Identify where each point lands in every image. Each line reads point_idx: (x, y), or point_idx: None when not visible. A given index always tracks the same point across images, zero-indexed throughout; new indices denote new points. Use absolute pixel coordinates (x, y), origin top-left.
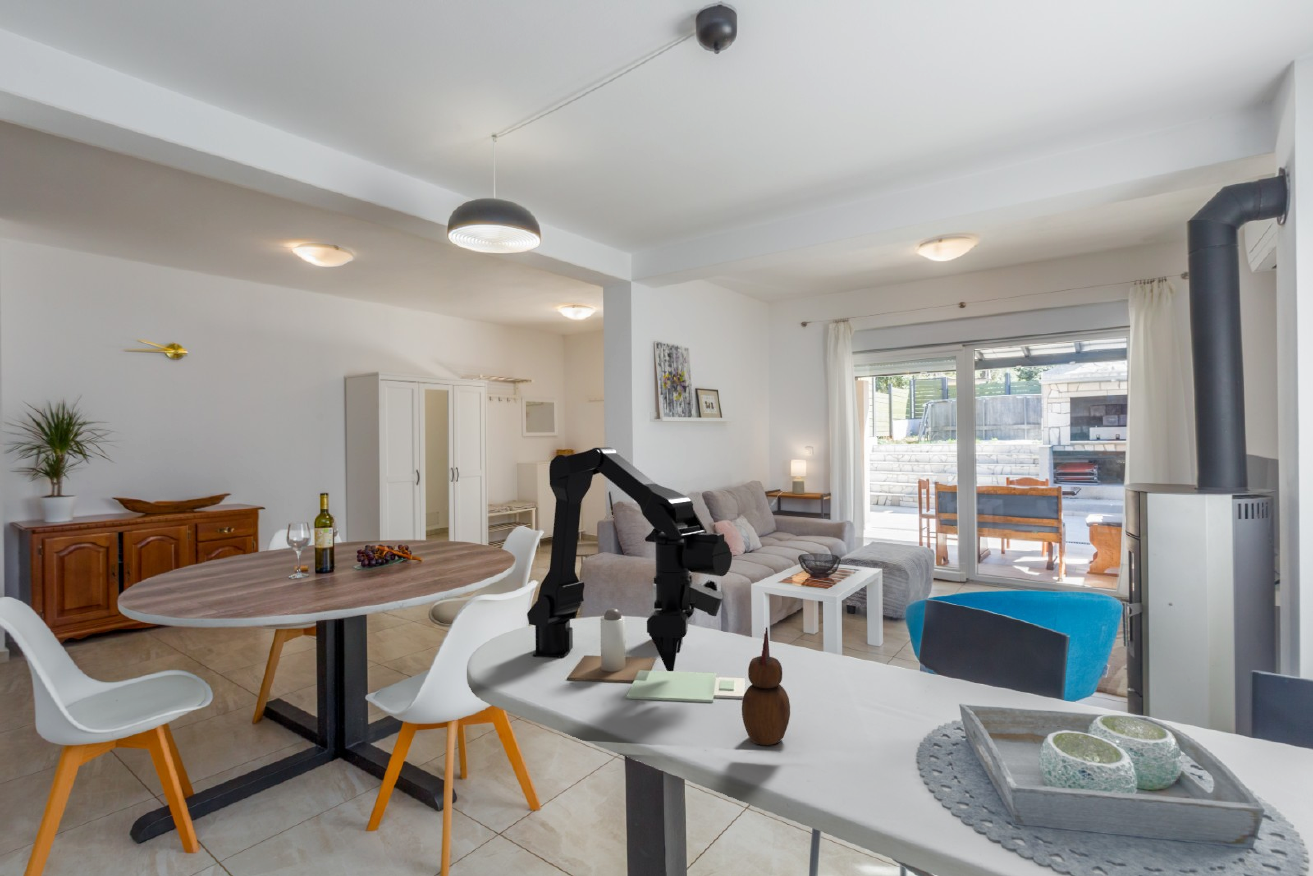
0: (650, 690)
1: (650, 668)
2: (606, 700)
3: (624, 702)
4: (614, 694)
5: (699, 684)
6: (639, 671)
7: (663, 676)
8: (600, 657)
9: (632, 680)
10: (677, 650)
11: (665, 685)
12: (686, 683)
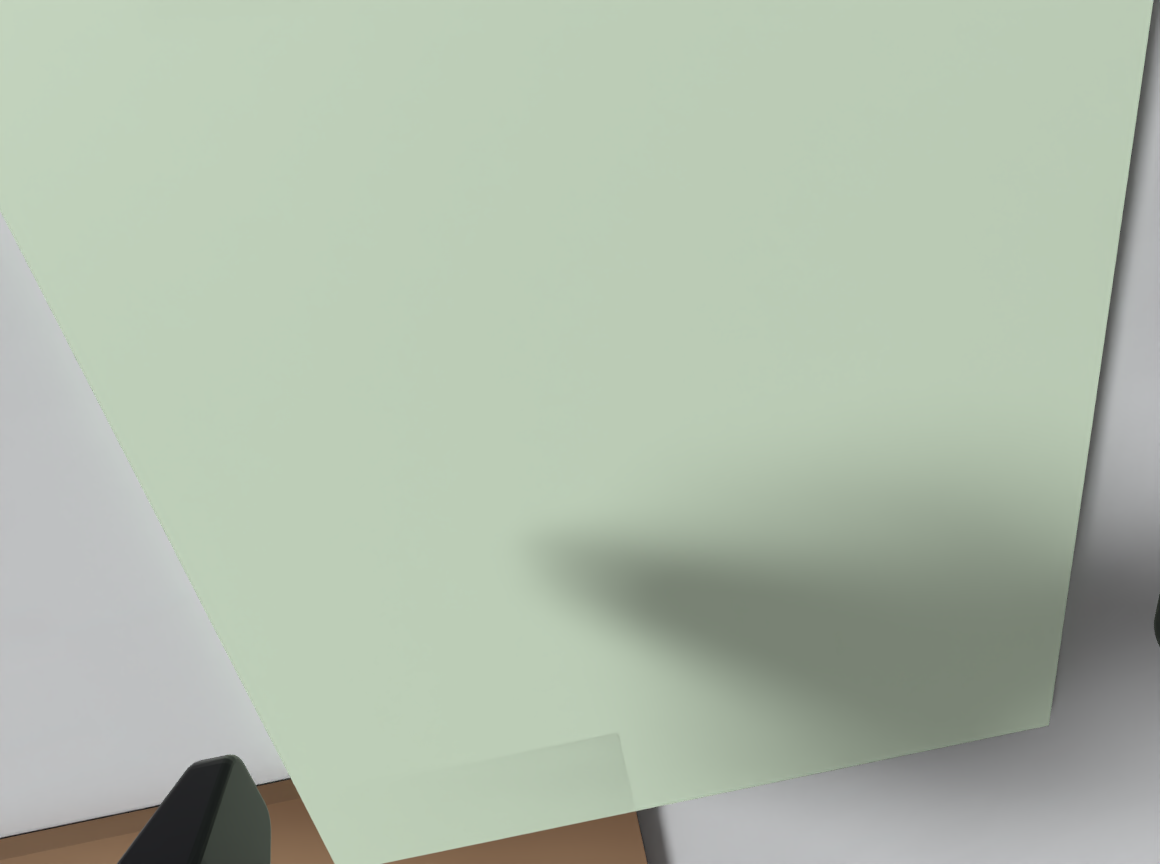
0: (891, 607)
1: None
2: (1072, 805)
3: (1118, 690)
4: (938, 808)
5: (560, 128)
6: (376, 859)
7: (424, 636)
8: None
9: (637, 821)
10: (245, 809)
11: (708, 527)
12: (569, 322)
